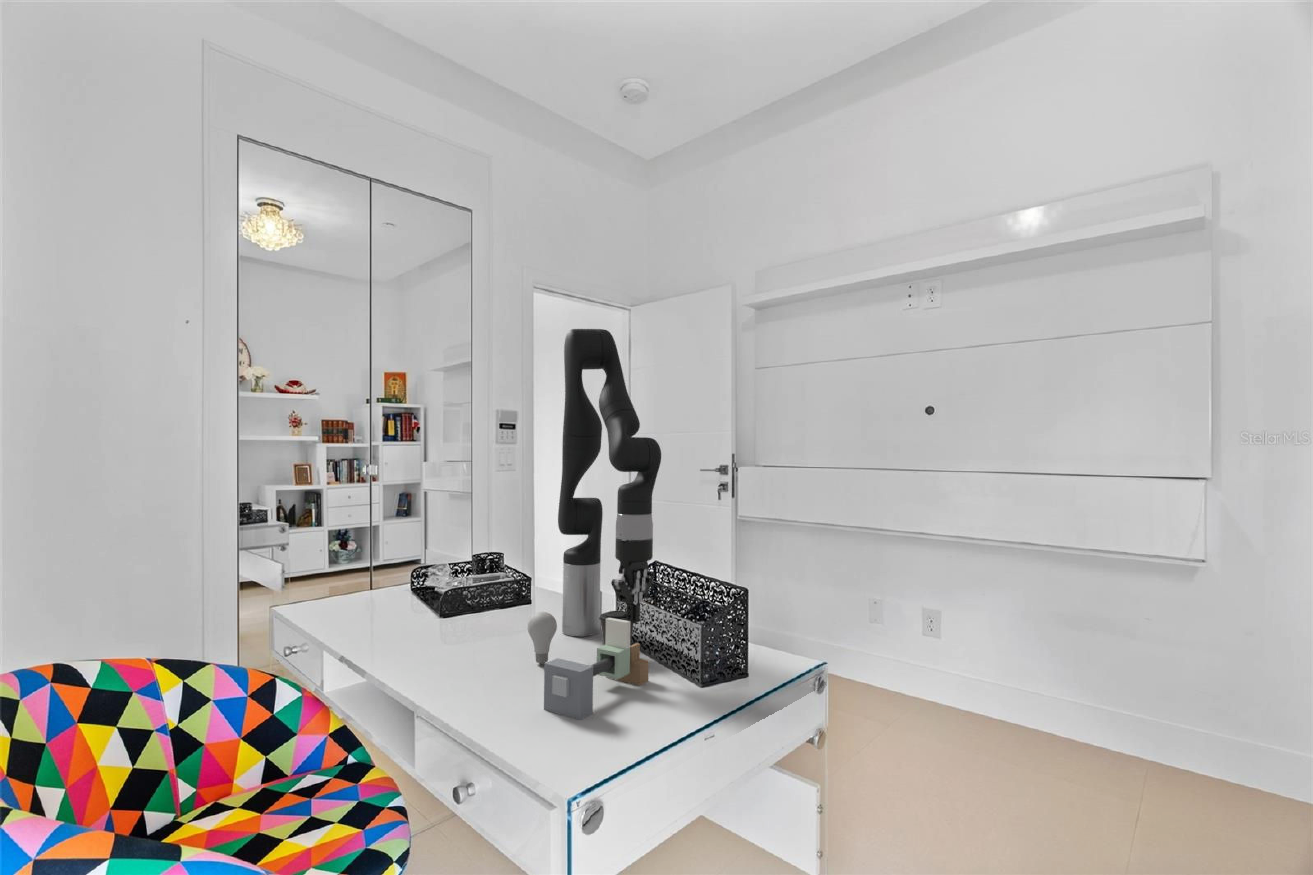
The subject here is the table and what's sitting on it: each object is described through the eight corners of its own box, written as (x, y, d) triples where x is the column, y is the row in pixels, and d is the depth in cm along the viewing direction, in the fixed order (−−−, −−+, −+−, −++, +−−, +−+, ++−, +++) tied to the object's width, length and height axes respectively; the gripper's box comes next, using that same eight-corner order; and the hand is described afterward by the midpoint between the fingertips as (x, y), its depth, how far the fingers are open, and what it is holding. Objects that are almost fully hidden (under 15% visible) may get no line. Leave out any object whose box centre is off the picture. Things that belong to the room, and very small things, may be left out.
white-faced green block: (608, 668, 130) (609, 617, 130) (629, 673, 128) (630, 621, 128) (596, 674, 127) (597, 622, 127) (618, 679, 124) (618, 626, 124)
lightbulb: (528, 670, 136) (529, 616, 136) (525, 660, 142) (526, 609, 142) (557, 668, 138) (558, 615, 138) (554, 658, 143) (555, 607, 144)
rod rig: (614, 673, 135) (615, 633, 135) (648, 680, 131) (648, 640, 131) (540, 710, 115) (541, 664, 115) (577, 721, 111) (578, 673, 111)
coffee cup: (630, 666, 140) (631, 618, 140) (593, 662, 141) (594, 615, 141) (639, 654, 147) (639, 609, 148) (604, 651, 149) (604, 606, 149)
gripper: (636, 531, 141) (635, 613, 141) (599, 537, 130) (598, 626, 129) (666, 534, 137) (665, 618, 137) (631, 541, 126) (630, 632, 126)
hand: (633, 622), depth 133 cm, fingers closed
